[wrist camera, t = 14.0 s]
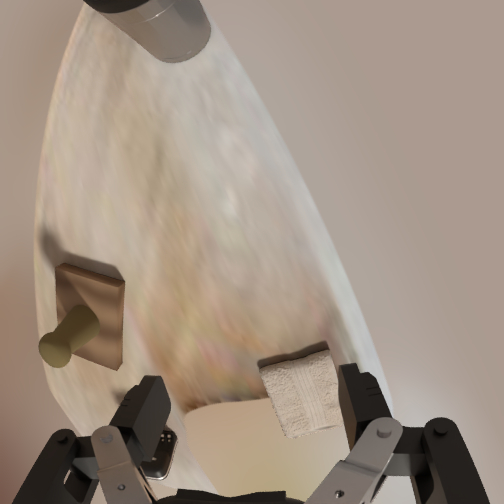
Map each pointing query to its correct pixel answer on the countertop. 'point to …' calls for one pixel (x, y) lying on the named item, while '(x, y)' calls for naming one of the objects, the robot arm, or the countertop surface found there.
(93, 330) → the cork
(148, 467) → the battery charger
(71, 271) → the walnut board
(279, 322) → the countertop surface
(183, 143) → the countertop surface
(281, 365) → the washcloth
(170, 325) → the countertop surface
